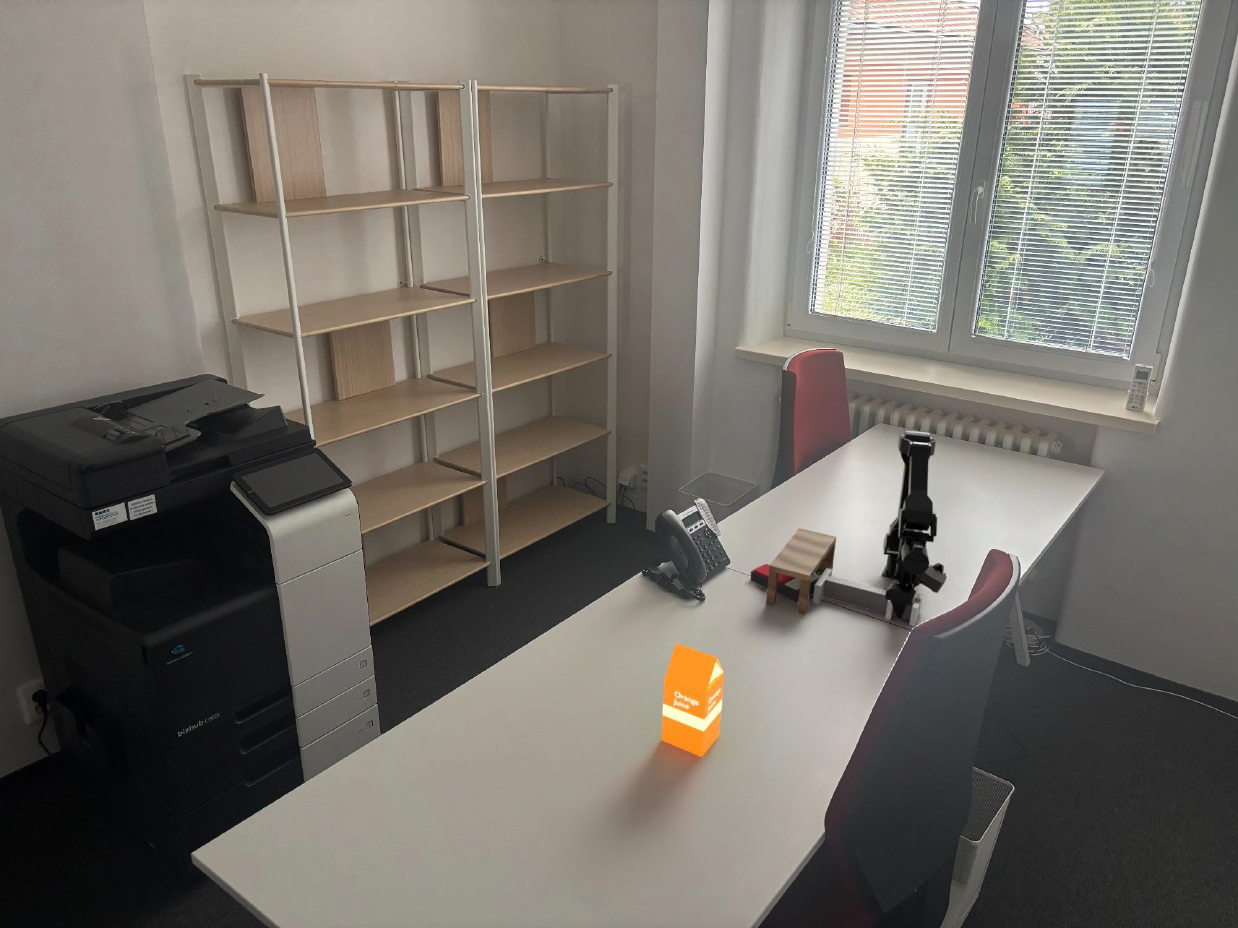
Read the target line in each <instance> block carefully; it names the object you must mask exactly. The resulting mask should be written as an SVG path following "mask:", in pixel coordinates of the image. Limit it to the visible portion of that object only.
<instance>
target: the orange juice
mask: <svg viewBox="0 0 1238 928" xmlns="http://www.w3.org/2000/svg"><path fill="white" fill-rule="evenodd" d="M724 678H725V672H724V670H723V668H722V665H721V664H720V660H719V659H718V657H716V656H712V655H710V654H708V653H705V652H702V651H700V650H696V649H693V648H691V647H688V646H685V645H682V644H679V643H677V642H675V646H674V649H673V652H672V654H671V658H670V661H669V664H668V667H667V670H666V673H665V676H664V683H663V700H662V701H663V704H662V723H661V725H662V726H661V727H662V728H661V741H662V742H665V743H668V744H670V745H672V746H674V747H677V748H679V749H681V750H684V751H687V752H689V753H691V754H693V755H696V756H698V757H700V758H702V757H703V756H704V755H705V754H706V753H707V751H708V750H709V749H710V747H711V746H712V745H713V744H714V742H716V740H717V739H718V737H719V736H720V729H721V717H722V708H723V692H724V689H723V688H724Z"/></svg>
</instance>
